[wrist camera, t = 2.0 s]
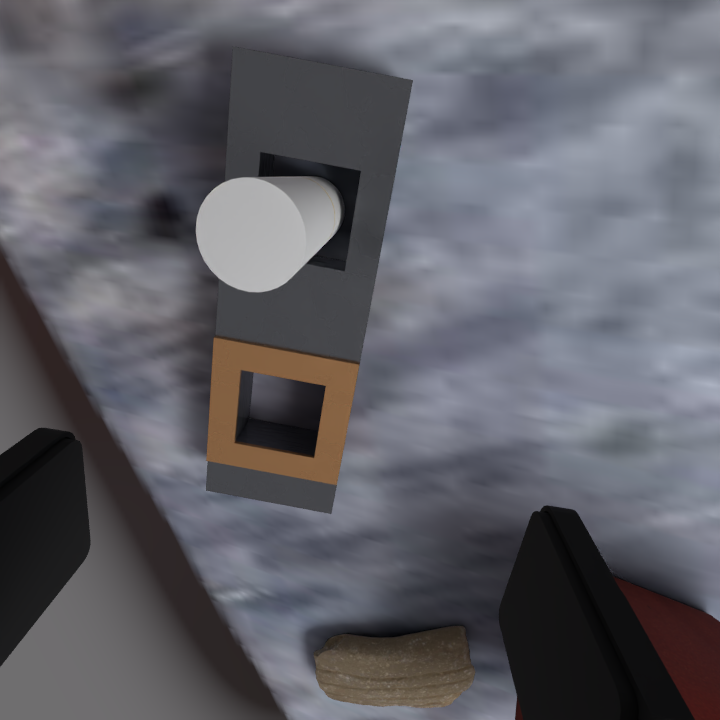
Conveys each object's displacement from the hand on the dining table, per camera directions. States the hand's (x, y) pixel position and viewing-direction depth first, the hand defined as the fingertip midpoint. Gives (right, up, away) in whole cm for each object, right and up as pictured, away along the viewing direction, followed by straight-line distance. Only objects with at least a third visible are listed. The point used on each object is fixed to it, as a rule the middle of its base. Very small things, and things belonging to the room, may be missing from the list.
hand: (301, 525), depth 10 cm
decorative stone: (+5, -26, +38) cm, 46 cm away
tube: (-2, +14, +22) cm, 26 cm away
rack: (-3, +7, +25) cm, 26 cm away
